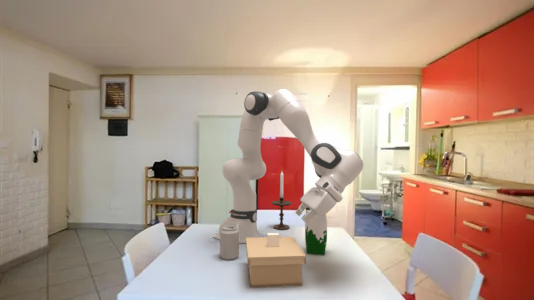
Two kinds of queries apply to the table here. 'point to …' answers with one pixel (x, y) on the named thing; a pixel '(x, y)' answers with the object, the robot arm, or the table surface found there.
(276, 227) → the candlestick
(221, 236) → the can
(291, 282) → the carton
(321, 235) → the milk carton
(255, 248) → the carton lid
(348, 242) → the table surface
